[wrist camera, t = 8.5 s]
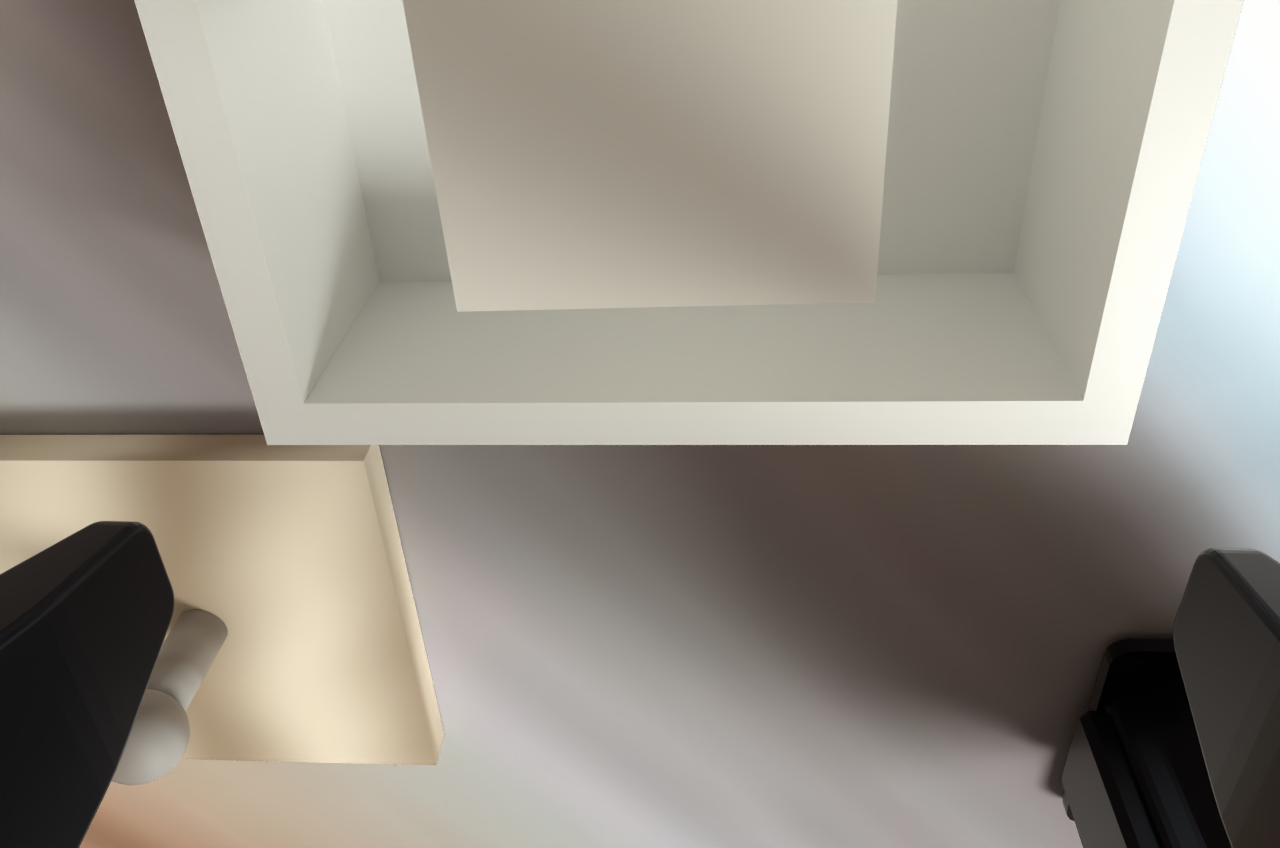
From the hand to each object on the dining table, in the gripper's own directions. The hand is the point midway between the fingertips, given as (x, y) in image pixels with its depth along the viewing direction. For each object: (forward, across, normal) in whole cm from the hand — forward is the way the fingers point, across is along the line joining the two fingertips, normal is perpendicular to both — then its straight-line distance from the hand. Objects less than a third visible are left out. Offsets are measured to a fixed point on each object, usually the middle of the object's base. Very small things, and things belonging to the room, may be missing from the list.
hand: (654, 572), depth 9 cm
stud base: (+12, +12, +12) cm, 20 cm away
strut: (+11, 0, -4) cm, 12 cm away
